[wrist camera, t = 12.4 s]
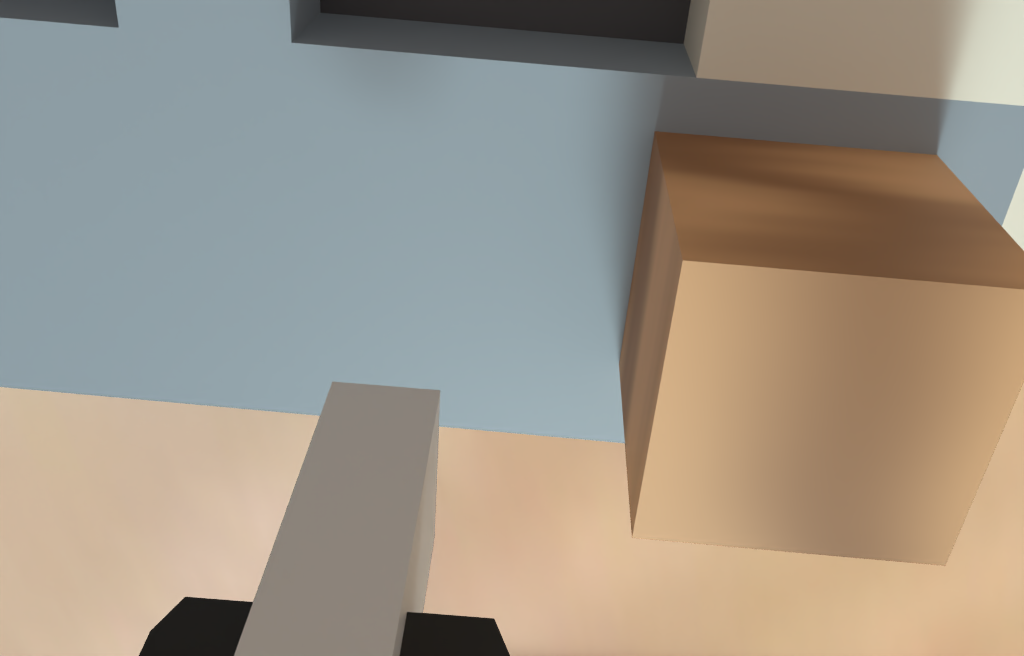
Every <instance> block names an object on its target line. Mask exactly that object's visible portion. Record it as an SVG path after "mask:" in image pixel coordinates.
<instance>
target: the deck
mask: <svg viewBox="0 0 1024 656" xmlns="http://www.w3.org/2000/svg"><path fill="white" fill-rule="evenodd" d="M655 131H658V132H670V133H682V134H694V135H706V136H718V137H730V138H742V139H754V140H766V141H777V142H789V143H801V144H813V145H825V146H837V147H849V148H861V149H873V150H885V151H896V152H908V153H920V154H932V155H937V156H938V157H939V158H940V159H941V160H942V161H943V162H944V163H945V164H946V165H947V167H948V168H949V169H950V170H951V171H952V172H953V173H954V174H955V175H956V177H957V178H958V179H959V180H960V181H961V182H962V183H963V184H964V185H965V186H966V188H967V189H968V190H969V191H970V192H971V193H972V194H973V195H974V196H975V197H976V199H977V200H978V201H979V202H980V203H981V204H982V205H983V206H984V207H985V209H986V210H987V211H988V212H989V213H990V214H991V215H992V216H993V217H994V218H995V220H996V221H997V222H998V223H999V224H1000V225H1001V226H1002V227H1003V228H1004V229H1005V231H1006V232H1007V233H1008V234H1009V235H1010V236H1011V237H1012V238H1013V239H1014V241H1015V242H1016V243H1017V244H1018V245H1019V246H1020V247H1021V248H1022V249H1023V250H1024V0H0V387H8V388H19V389H30V390H41V391H52V392H63V393H74V394H85V395H96V396H108V397H119V398H130V399H141V400H152V401H163V402H174V403H185V404H196V405H207V406H219V407H230V408H241V409H252V410H263V411H274V412H285V413H296V414H307V415H318V416H320V415H321V412H322V409H323V406H324V403H325V401H326V398H327V395H328V392H329V389H330V387H331V384H332V382H344V383H357V384H369V385H382V386H394V387H407V388H419V389H432V390H440V412H439V426H440V427H451V428H463V429H474V430H485V431H496V432H507V433H518V434H529V435H540V436H551V437H562V438H574V439H585V440H596V441H607V442H618V443H625V438H624V425H623V412H622V399H621V386H620V373H619V361H620V355H621V348H622V342H623V335H624V329H625V322H626V315H627V309H628V302H629V296H630V289H631V283H632V276H633V270H634V263H635V257H636V250H637V243H638V237H639V230H640V224H641V217H642V211H643V204H644V198H645V191H646V185H647V178H648V171H649V165H650V158H651V152H652V145H653V139H654V132H655Z"/></svg>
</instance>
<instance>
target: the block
mask: <svg viewBox="0 0 1024 656" xmlns="http://www.w3.org/2000/svg"><path fill="white" fill-rule="evenodd" d="M619 373H620V386H621V399H622V412H623V425H624V438H625V452H626V465H627V478H628V491H629V504H630V517H631V530H632V538H638V539H649V540H661V541H672V542H683V543H694V544H706V545H717V546H728V547H739V548H751V549H762V550H773V551H784V552H796V553H807V554H818V555H829V556H841V557H852V558H863V559H875V560H886V561H897V562H908V563H920V564H931V565H942V566H945V565H946V563H947V560H948V558H949V556H950V553H951V551H952V549H953V546H954V544H955V542H956V539H957V537H958V535H959V532H960V530H961V528H962V525H963V523H964V521H965V518H966V516H967V514H968V511H969V509H970V507H971V504H972V502H973V500H974V497H975V495H976V493H977V490H978V488H979V486H980V483H981V481H982V479H983V476H984V474H985V472H986V469H987V467H988V465H989V462H990V460H991V458H992V455H993V453H994V450H995V448H996V446H997V443H998V441H999V439H1000V436H1001V434H1002V432H1003V429H1004V427H1005V425H1006V422H1007V420H1008V418H1009V415H1010V413H1011V411H1012V408H1013V406H1014V404H1015V401H1016V399H1017V397H1018V394H1019V392H1020V390H1021V387H1022V385H1023V383H1024V250H1023V249H1022V248H1021V247H1020V246H1019V245H1018V244H1017V243H1016V242H1015V241H1014V239H1013V238H1012V237H1011V236H1010V235H1009V234H1008V233H1007V232H1006V231H1005V229H1004V228H1003V227H1002V226H1001V225H1000V224H999V223H998V222H997V221H996V220H995V218H994V217H993V216H992V215H991V214H990V213H989V212H988V211H987V210H986V209H985V207H984V206H983V205H982V204H981V203H980V202H979V201H978V200H977V199H976V197H975V196H974V195H973V194H972V193H971V192H970V191H969V190H968V189H967V188H966V186H965V185H964V184H963V183H962V182H961V181H960V180H959V179H958V178H957V177H956V175H955V174H954V173H953V172H952V171H951V170H950V169H949V168H948V167H947V165H946V164H945V163H944V162H943V161H942V160H941V159H940V158H939V157H938V156H937V155H932V154H920V153H908V152H896V151H885V150H873V149H861V148H849V147H837V146H825V145H813V144H801V143H789V142H777V141H766V140H754V139H742V138H730V137H718V136H706V135H694V134H682V133H670V132H658V131H655V132H654V139H653V145H652V152H651V158H650V165H649V171H648V178H647V185H646V191H645V198H644V204H643V211H642V217H641V224H640V230H639V237H638V243H637V250H636V257H635V263H634V270H633V276H632V283H631V289H630V296H629V302H628V309H627V315H626V322H625V329H624V335H623V342H622V348H621V355H620V361H619Z"/></svg>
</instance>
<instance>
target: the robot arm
mask: <svg viewBox="0 0 1024 656" xmlns="http://www.w3.org/2000/svg"><path fill="white" fill-rule="evenodd" d="M439 412H440V390H432V389H419V388H407V387H394V386H382V385H369V384H357V383H344V382H332V384H331V387H330V389H329V392H328V395H327V398H326V401H325V403H324V406H323V409H322V412H321V415H320V417H319V420H318V423H317V426H316V428H315V431H314V434H313V437H312V440H311V442H310V445H309V448H308V451H307V454H306V456H305V459H304V462H303V465H302V467H301V470H300V473H299V476H298V479H297V481H296V484H295V487H294V490H293V493H292V495H291V498H290V501H289V504H288V506H287V509H286V512H285V515H284V518H283V520H282V523H281V526H280V529H279V532H278V534H277V537H276V540H275V543H274V545H273V548H272V551H271V554H270V557H269V559H268V562H267V565H266V568H265V571H264V573H263V576H262V579H261V582H260V584H259V587H258V590H257V593H256V596H255V598H254V601H253V602H244V601H231V600H219V599H206V598H193V597H185V598H184V599H183V600H182V601H181V602H180V603H179V604H177V605H176V606H175V607H174V608H173V609H172V610H171V611H170V612H169V613H168V614H167V615H166V616H165V617H164V618H163V619H162V620H161V621H160V622H159V623H158V624H157V625H156V626H155V627H154V628H153V629H152V630H151V631H150V633H149V635H148V637H147V640H146V642H145V644H144V646H143V648H142V650H141V652H140V655H139V656H510V655H509V652H508V650H507V648H506V645H505V643H504V641H503V638H502V636H501V634H500V631H499V629H498V627H497V624H496V622H495V620H494V619H492V618H479V617H466V616H454V615H441V614H428V613H423V609H424V602H425V596H426V589H427V583H428V576H429V570H430V563H431V557H432V550H433V544H434V537H435V513H436V488H437V463H438V437H439Z"/></svg>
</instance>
